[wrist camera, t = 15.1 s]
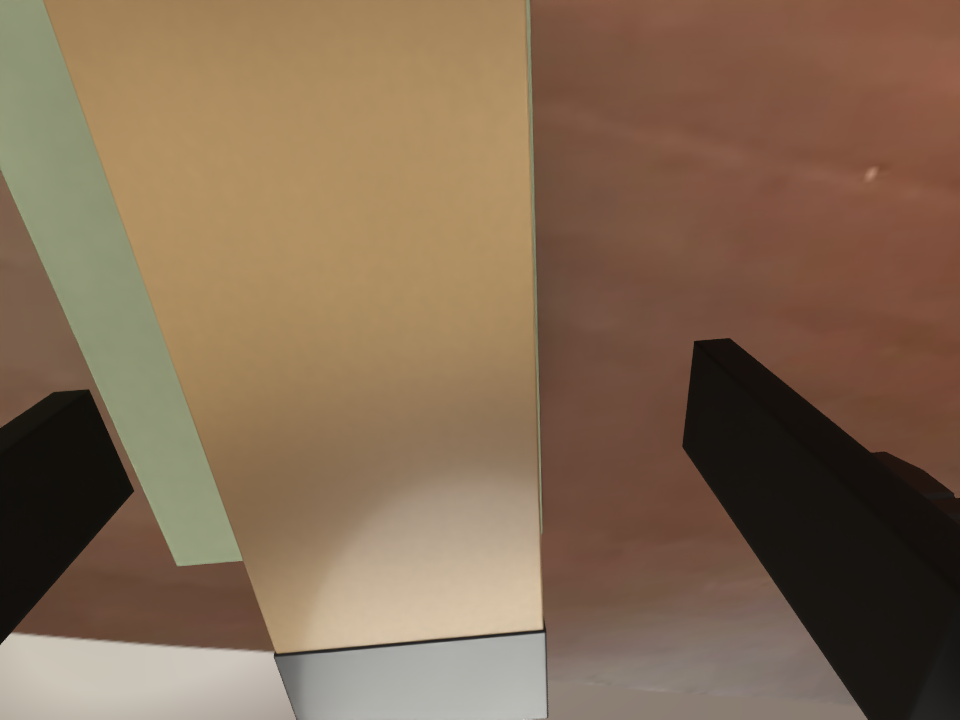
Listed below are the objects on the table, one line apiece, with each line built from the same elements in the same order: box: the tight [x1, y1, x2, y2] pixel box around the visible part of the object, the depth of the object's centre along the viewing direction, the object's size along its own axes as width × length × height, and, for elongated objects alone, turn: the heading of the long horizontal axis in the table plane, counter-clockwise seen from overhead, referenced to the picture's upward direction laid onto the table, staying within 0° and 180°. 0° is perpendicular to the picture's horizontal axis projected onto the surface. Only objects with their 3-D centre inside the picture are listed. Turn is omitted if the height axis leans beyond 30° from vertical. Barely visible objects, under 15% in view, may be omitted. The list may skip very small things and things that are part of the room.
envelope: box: [0, 0, 543, 566], centre depth 15 cm, size 24×14×1 cm, turn 4°
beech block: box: [43, 0, 548, 720], centre depth 13 cm, size 16×6×7 cm, turn 4°
